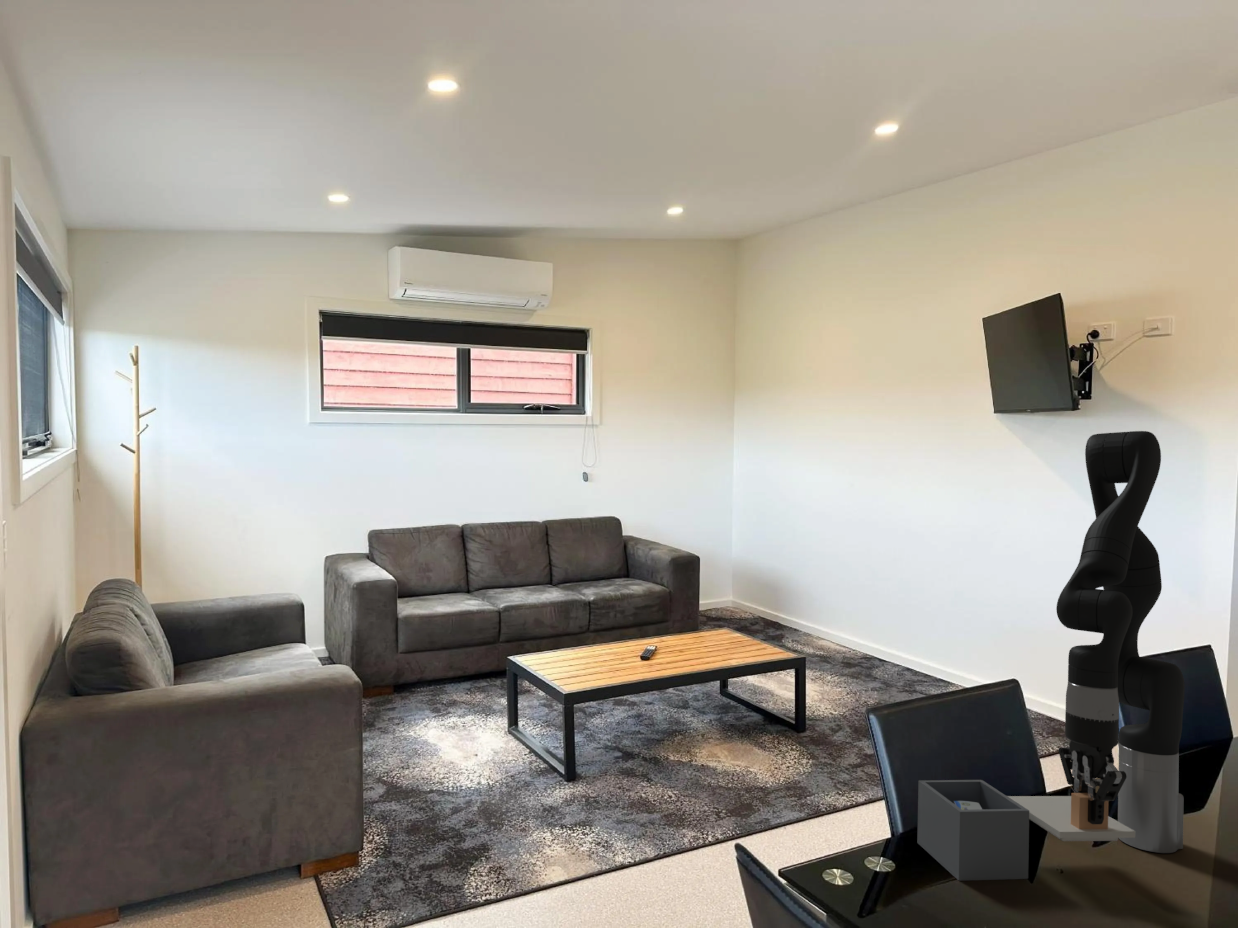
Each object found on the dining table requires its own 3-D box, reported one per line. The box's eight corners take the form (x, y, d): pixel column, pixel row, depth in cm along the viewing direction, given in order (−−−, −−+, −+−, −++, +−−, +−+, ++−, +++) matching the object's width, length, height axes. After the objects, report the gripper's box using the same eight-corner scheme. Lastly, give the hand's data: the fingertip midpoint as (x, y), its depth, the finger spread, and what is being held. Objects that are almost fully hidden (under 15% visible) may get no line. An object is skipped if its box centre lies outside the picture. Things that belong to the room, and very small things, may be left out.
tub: (980, 841, 148) (981, 779, 148) (1028, 878, 134) (1029, 810, 134) (917, 842, 146) (918, 780, 146) (958, 880, 132) (960, 811, 133)
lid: (1073, 808, 146) (1073, 767, 146) (1135, 845, 131) (1136, 799, 131) (1004, 808, 145) (1005, 767, 145) (1059, 845, 130) (1060, 799, 130)
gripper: (1145, 724, 127) (1142, 837, 126) (1084, 701, 140) (1082, 803, 140) (1099, 724, 126) (1097, 838, 125) (1043, 700, 139) (1041, 803, 139)
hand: (1089, 819), depth 133 cm, fingers closed on lid
